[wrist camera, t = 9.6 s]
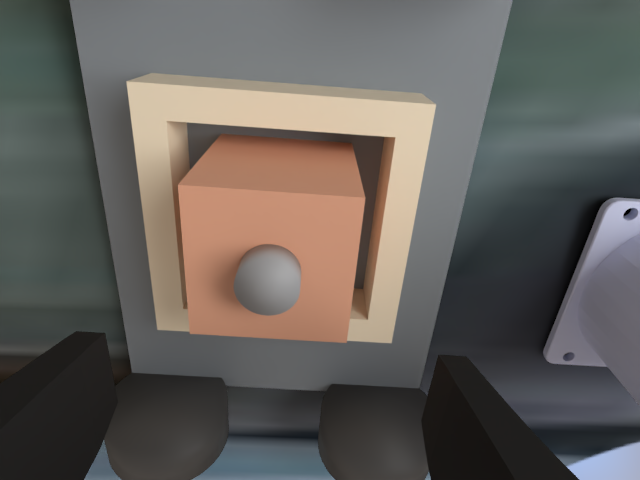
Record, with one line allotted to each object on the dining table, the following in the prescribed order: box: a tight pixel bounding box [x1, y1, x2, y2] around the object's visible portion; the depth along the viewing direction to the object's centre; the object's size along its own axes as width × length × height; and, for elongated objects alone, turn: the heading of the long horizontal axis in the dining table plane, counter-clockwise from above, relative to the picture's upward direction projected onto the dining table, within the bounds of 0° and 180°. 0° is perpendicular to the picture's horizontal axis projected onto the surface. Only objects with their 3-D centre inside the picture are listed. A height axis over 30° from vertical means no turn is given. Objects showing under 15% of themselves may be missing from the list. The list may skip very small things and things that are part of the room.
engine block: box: [178, 134, 365, 343], centre depth 13 cm, size 4×4×6 cm
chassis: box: [70, 0, 513, 480], centre depth 14 cm, size 14×21×5 cm, turn 176°
